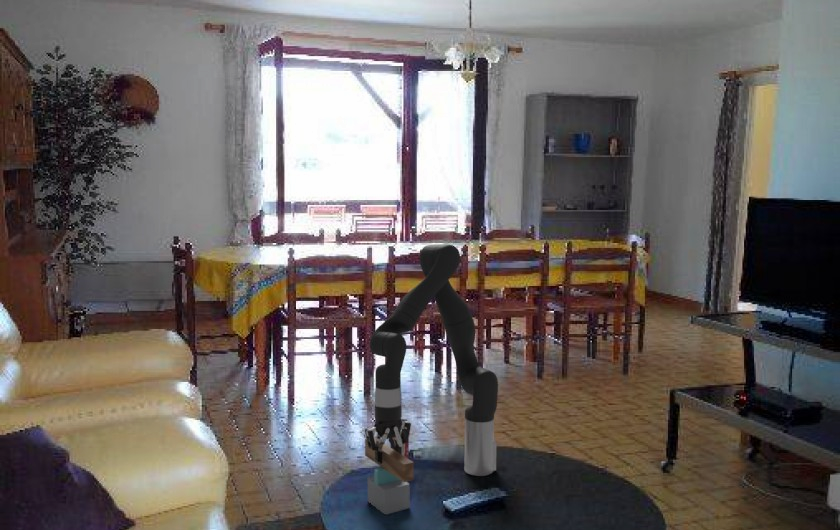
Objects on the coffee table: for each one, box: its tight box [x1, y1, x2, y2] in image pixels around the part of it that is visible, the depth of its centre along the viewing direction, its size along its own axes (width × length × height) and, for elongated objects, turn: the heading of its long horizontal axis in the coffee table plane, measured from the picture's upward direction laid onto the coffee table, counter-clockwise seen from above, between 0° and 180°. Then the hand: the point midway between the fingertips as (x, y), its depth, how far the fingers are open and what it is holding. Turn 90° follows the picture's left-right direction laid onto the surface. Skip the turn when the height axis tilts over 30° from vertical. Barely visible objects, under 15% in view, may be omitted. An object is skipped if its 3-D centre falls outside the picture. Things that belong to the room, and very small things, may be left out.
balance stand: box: [367, 466, 411, 515], centre depth 204 cm, size 8×10×11 cm
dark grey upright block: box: [388, 418, 410, 460], centre depth 228 cm, size 11×4×15 cm, turn 168°
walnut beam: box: [364, 436, 415, 483], centre depth 203 cm, size 3×22×5 cm, turn 32°
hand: (388, 460), depth 203 cm, fingers open, 5 cm apart
